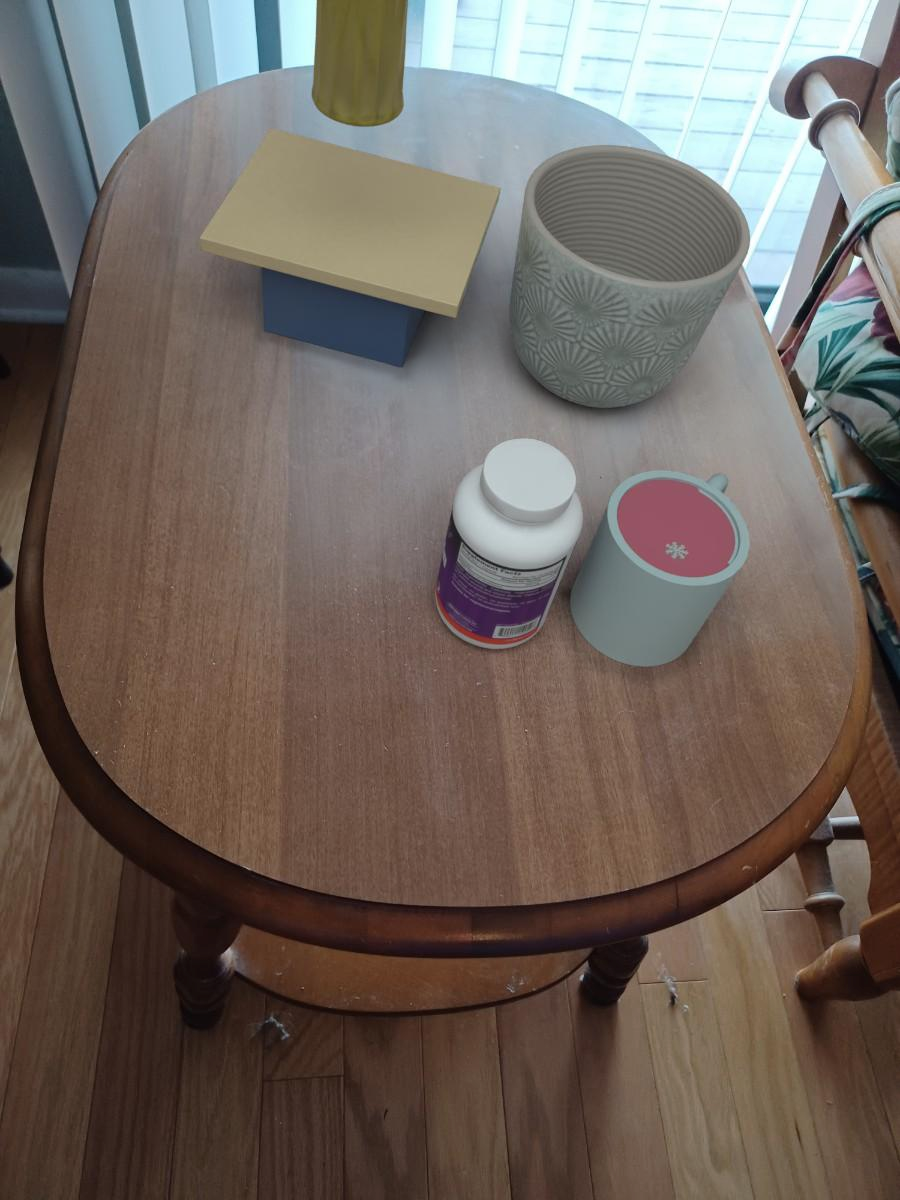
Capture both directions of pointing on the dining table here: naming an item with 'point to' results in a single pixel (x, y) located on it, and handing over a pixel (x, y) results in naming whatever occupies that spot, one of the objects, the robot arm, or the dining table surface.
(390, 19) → the vase
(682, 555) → the mug
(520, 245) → the planter
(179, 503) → the dining table surface
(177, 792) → the dining table surface
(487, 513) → the pill bottle
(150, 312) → the dining table surface
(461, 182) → the box
